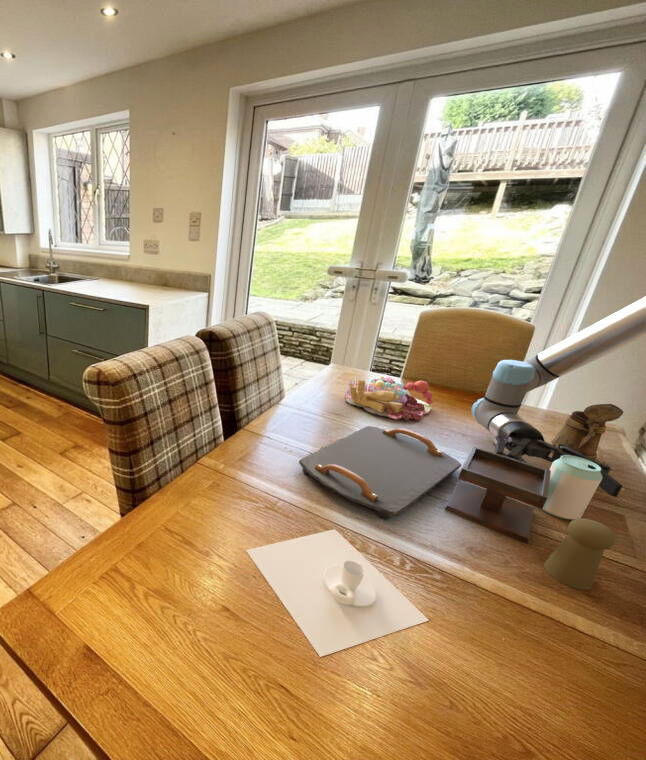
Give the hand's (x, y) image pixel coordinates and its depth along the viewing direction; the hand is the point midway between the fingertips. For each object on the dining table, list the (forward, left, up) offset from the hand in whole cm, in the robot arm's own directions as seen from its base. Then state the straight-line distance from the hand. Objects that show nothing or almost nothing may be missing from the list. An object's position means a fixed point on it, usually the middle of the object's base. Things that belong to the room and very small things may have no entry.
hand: (574, 484), depth 80 cm
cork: (-1, +21, -8) cm, 22 cm away
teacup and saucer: (+27, +53, -8) cm, 60 cm away
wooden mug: (-1, -33, -8) cm, 34 cm away
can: (+1, -1, -8) cm, 8 cm away
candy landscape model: (+43, -32, -8) cm, 54 cm away
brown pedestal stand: (+11, +10, -7) cm, 16 cm away
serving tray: (+32, +12, -8) cm, 35 cm away
